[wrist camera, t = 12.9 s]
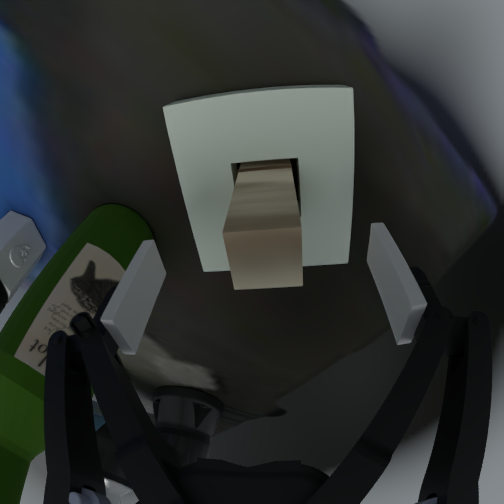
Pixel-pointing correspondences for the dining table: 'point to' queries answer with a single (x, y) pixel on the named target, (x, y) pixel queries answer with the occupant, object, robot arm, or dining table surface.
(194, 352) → the dining table surface
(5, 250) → the jar
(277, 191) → the peg
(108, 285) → the wine bottle
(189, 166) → the plinth
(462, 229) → the dining table surface
